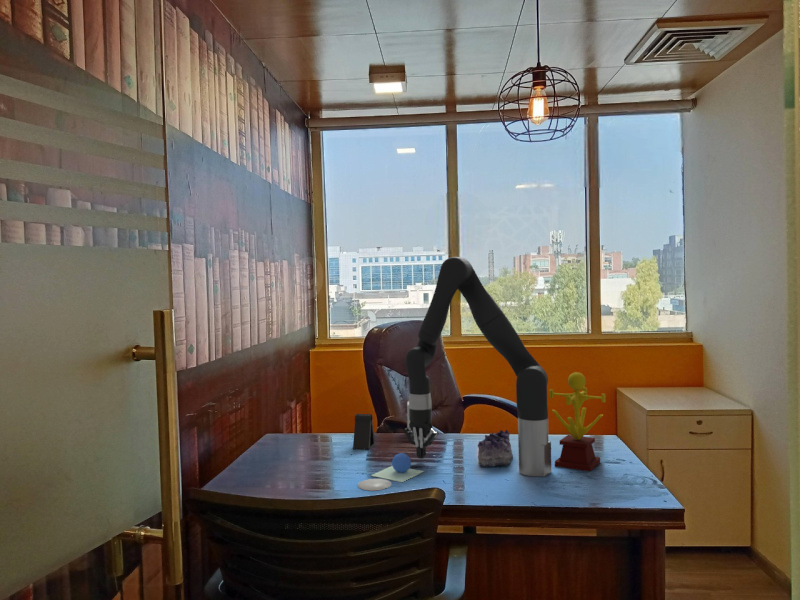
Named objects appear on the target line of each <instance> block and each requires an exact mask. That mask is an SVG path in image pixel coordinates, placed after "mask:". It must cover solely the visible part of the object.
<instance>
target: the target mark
mask: <svg viewBox="0 0 800 600" xmlns="http://www.w3.org/2000/svg"><path fill="white" fill-rule="evenodd" d="M422 473H424V470H419V469H415V468H411V467H410V468H409V470H408V471H406V472H404V473H399V472H397V471H395V469H394V468H393V466H392V465H390V466H388V467H385V468H384V469H381V470H379V471H377V472H376V473H373V474H371V475H370V476H371V477H374V478H377V479H385V480H388V481H392V482H393V481H394V482H399V483H402V482H403V483H404V481H405V482H406V480H407V481H408V479H409V480H411V479H412V478H415V477H416V476H418V475H420V474H422ZM410 478H411V479H410Z"/></svg>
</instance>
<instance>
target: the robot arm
mask: <svg viewBox="0 0 800 600" xmlns="http://www.w3.org/2000/svg"><path fill="white" fill-rule="evenodd" d="M457 291H459V293H460V294H461V295H462V296H463V298H464V300H465V302H466V303H467V305H468V307H469V309H470V312H471V315H472V318H473V320H474V322H475V324H476V327H477V328H478V329H479V330H480V332H481V333H482V335H483V336H484V338H485V340H487V342H488V343H489V344H490V345H491V346H492V347H493V349H495V350H496V351H497V352H498V353H499V354H500V355H501V356H502V357H503V358H504V359H505V361H506V362H507V363H508V364H509V366H510V367H511V369H512V371H513V373H514V374H515V376H516V381H515V382H516V383H515V385H516V386H515V387H516V388H515V390H516V394H515V395H516V396H515V397H516V409H517V430H518V435H517V436H518V437H517V440H518V446H517V447H518V473H520V474H521V475H524V476H528V477H543V478H544V477H546V476H547V475H549V474H551V472H552V442H551V441H550V440H549V408H548V384H549V377H548V374H547V372H546V370H545V369H544V368H543V367H542V366H541V364H539V363H538V361H537V360H536V359H535V358H534V357H533V355H532V354H531V352H529V350H528V349H527V347H526V346H525V344H524V343H523V341H522V339H521V337H520V336H519V334H518V332H517V330H516V329H515V328H514V326H513V325H512V323H511V321H510V320H509V318H508V317H507V315H506V314H505V313H504V312H503V310H502V309H501V307H500V306H499V305H498V304H497V302H496V301H495V300H494V298H493V297H492V296H491V294H490V293H489V292H488V291H487V290H486V288H485V287H484V285H483V283H482V282H481V280H480V278H479V276H478V274H477V273H476V271H475V269H474V268H473V266H472V263H471V262H470V261H469V260H468V259H466V258H464V257H461V256H451V257H449V258H447V259H445V260H443V262H442V264H441V266H440V269H439V274H438V277H437V281H436V286H435V289H434V291H433V295H432V298H431V302H430V304H429V307H428V309H427V311H426V314H425V316H424V318H423V321H422V323H421V325H420V327H419V330H418V333H417V337H418V339H419V340H418V343H417V345H416V347H413V348H410V349H409V350H408V351H407V352H406V355H405V358H404V359H405V361H404V362H405V369H406V374H407V377H408V381H409V383H408V385H409V387H408V389H409V390H408V391H409V393H408V395H409V397H408V401H409V420H410V423H409V427H408V428H407V427H406V428H404V429H403V433H404V434H405V436H406V438H407V439H408V442H410V444H411V445H413V446H415V447H416V448H415V449H416V450H415V451H416V456H417V459H421V460H422V459H425V457H426V456H427V448H428V447H429V446H431V445H432V444H433V443H434V441H435V440H436V438H437V437H438V435H439V431H435V430H434V429H433V424H432V420H433V413H432V409H433V408H432V405H433V404H432V397H431V380H430V377H429V375H427V372H426V367H428V366H429V365H430V364H431V363H432V361H433V359H434V356H435V354H436V349H437V346H438V341H439V339H440V337H441V335H442V333H443V331H444V327H445V325H446V322H447V318H448V314H449V308H450V307H451V303H452V300H453V297H454V296H455V294H456V292H457Z"/></svg>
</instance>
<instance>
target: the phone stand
mask: <svg viewBox="0 0 800 600" xmlns="http://www.w3.org/2000/svg"><path fill="white" fill-rule="evenodd" d="M353 429H354V431H353V441H352V442H353V443H352V444H353V445H352V450H360V451H362V450H363V451H369V450H371V449H372V448H373V447H374V446H375V445H376V437H375V431H374V423H373V415H372V414H371V413H355V415H354V428H353Z"/></svg>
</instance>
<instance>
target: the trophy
mask: <svg viewBox="0 0 800 600" xmlns="http://www.w3.org/2000/svg"><path fill="white" fill-rule="evenodd" d="M567 383H568V386H569V387H570V388H571V390H573V391H574V392H571V393H561V392H560V393H559V392H554V389H553V388H552V389H551V388H550V389H549V398H550V399H553V398H554V396H561V397H564V398H565V404H566V406H570V405H572V407H573V410H574V419H573V417H571V416H568V417H567V422H568V423H567V422H566V421H565V420H564V419H563V418H562V416H561V415H560V413H558V411H557V410H555V409H551V412H552V413H553V414H554V415H555V416H556V418H557V419H558V420H559V422H561V425H563V427H565V429H566V430H567V432H568V433H569V434H567V435H565V436H564V437H562V438H561V439H560V440H559V446H560V445H561V446H562V447H561V451H560V452H561V453H560V456H559V457H558V458H557V459H555V460H554V467H558V468H564V469H571V470H577V471H578V470H579V471H582V472H583V471H584V472H591V471H592V470H593V469H595V468H596V467H597V466H598V465H599V464H600V462H601V457H600V456H596V455H595V451H594V447H593V444H594V443H595V442H596V437H590V436H589V437H588V436H585V435H586V434H587V433H588V432H589V431H590V430H591V428H592V427H594V426H595V424H596V423H598V421H600V419H601V418H602V417H603V416H604V414H599V415H597V417H596V418H595V419H594V420H593V421H592V422H591V423H590V424H588V425H587V426H584V423H585V418H586V413H587V407H582V405H583V403H584V402H585V401H587V400H591V399H596V400H597V399H598V400H601V403H606V401H607V400H606V393H601V396H595V395H588V388H587V386H586V383H587V382H586V377H585V375H583V373H581V372H576V371H575V372H572V373H571V374H569V376H568V378H567ZM585 386H586V387H585Z"/></svg>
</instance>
